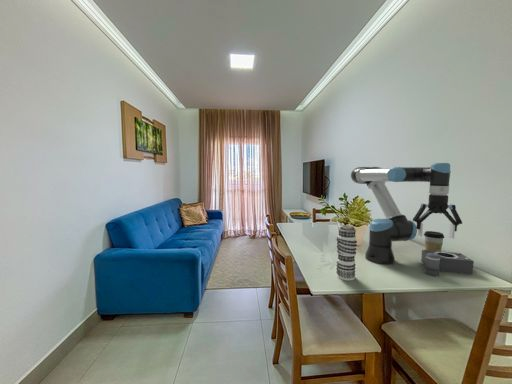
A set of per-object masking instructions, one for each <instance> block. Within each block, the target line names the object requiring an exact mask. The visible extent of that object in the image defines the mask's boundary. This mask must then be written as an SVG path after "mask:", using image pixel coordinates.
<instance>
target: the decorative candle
mask: <svg viewBox="0 0 512 384" xmlns="http://www.w3.org/2000/svg"><path fill="white" fill-rule="evenodd" d="M356 232H357V229H356V228H355V227H354V226H352V225H347V224H346V225H345V224H343V225H341V226H340V227H339V228H338V235H337V238H336V241H337V242H336V248H337V250H336V253H337V261H336V272H335V273H336V277H337V278H338V279H339V280H342V281H343V280H344V281H348V282H349V281H354V280H355V279H356V277H355V276H356V274H355V273H356V260H355V259H356V257H355V256H356V255H357V248H356V247H357V246H358V244H357V243H358V241H357V239H356V237H357V236H356Z"/></svg>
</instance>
